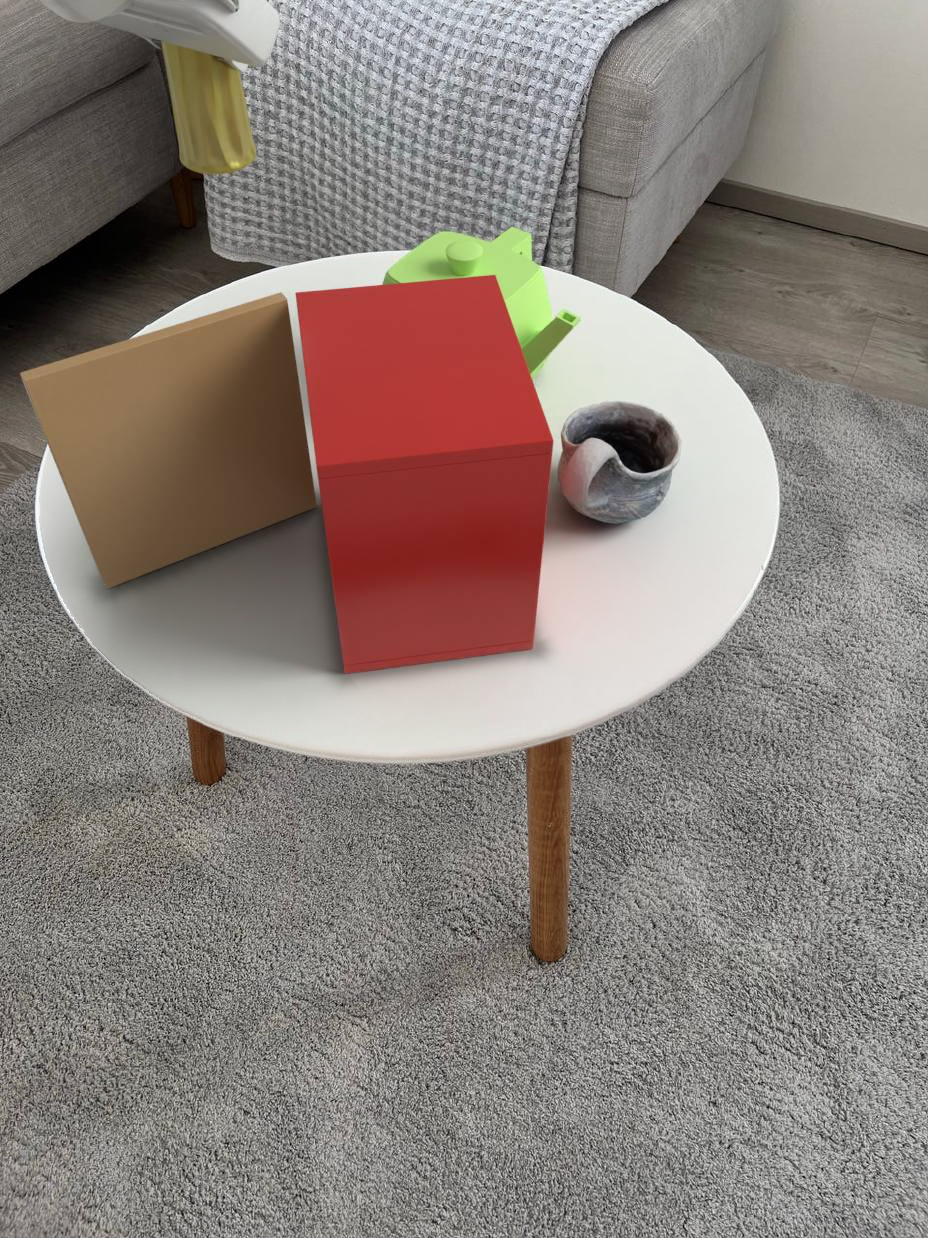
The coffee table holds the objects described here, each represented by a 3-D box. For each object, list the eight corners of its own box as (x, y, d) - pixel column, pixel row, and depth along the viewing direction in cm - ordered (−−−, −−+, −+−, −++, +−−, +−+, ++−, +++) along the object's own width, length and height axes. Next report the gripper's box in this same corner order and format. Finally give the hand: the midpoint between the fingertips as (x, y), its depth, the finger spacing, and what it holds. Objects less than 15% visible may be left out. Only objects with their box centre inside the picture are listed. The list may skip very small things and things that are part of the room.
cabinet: (344, 674, 74) (316, 466, 58) (323, 503, 85) (295, 291, 70) (533, 649, 75) (553, 440, 60) (487, 485, 87) (495, 274, 71)
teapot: (618, 363, 98) (637, 237, 88) (505, 479, 87) (512, 351, 77) (460, 300, 104) (460, 177, 94) (337, 402, 94) (323, 274, 84)
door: (80, 538, 82) (-4, 328, 67) (285, 462, 88) (250, 254, 73) (106, 589, 79) (23, 380, 63) (317, 507, 85) (287, 298, 69)
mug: (681, 482, 87) (704, 387, 79) (639, 582, 80) (658, 488, 72) (575, 452, 89) (586, 356, 82) (524, 546, 82) (531, 451, 74)
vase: (264, 142, 84) (237, -57, 73) (246, 178, 80) (214, -27, 69) (192, 137, 84) (154, -61, 73) (171, 173, 80) (127, -31, 70)
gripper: (222, -86, 60) (333, 37, 73) (-24, -140, 66) (117, -18, 79) (188, 22, 61) (303, 124, 74) (-52, -42, 67) (92, 63, 80)
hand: (205, 50), depth 77 cm, fingers closed on vase, 5 cm apart
